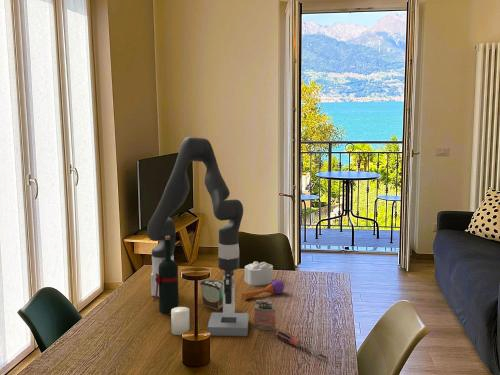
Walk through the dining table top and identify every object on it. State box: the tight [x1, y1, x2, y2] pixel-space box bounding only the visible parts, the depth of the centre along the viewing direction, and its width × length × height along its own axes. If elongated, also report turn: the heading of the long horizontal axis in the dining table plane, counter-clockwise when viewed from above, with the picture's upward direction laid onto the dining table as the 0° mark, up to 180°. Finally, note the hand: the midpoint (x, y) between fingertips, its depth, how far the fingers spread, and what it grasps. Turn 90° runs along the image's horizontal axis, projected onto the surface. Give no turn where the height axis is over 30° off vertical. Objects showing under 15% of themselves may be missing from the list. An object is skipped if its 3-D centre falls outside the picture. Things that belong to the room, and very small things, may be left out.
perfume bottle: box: [253, 299, 276, 331], centre depth 195 cm, size 8×3×10 cm, turn 71°
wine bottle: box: [152, 236, 180, 315], centre depth 210 cm, size 8×10×30 cm
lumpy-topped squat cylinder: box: [244, 261, 274, 286], centre depth 250 cm, size 10×13×9 cm
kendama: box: [241, 279, 285, 301], centre depth 230 cm, size 6×6×20 cm
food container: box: [199, 278, 224, 311], centre depth 217 cm, size 12×6×10 cm, turn 47°
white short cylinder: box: [170, 306, 191, 336], centre depth 191 cm, size 6×6×8 cm
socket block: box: [206, 312, 250, 337], centre depth 195 cm, size 14×14×3 cm
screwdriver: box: [275, 329, 328, 360], centre depth 178 cm, size 25×3×3 cm, turn 36°
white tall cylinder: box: [222, 283, 236, 315], centre depth 194 cm, size 4×4×10 cm
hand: (228, 301), depth 194 cm, fingers closed on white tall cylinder, 4 cm apart
